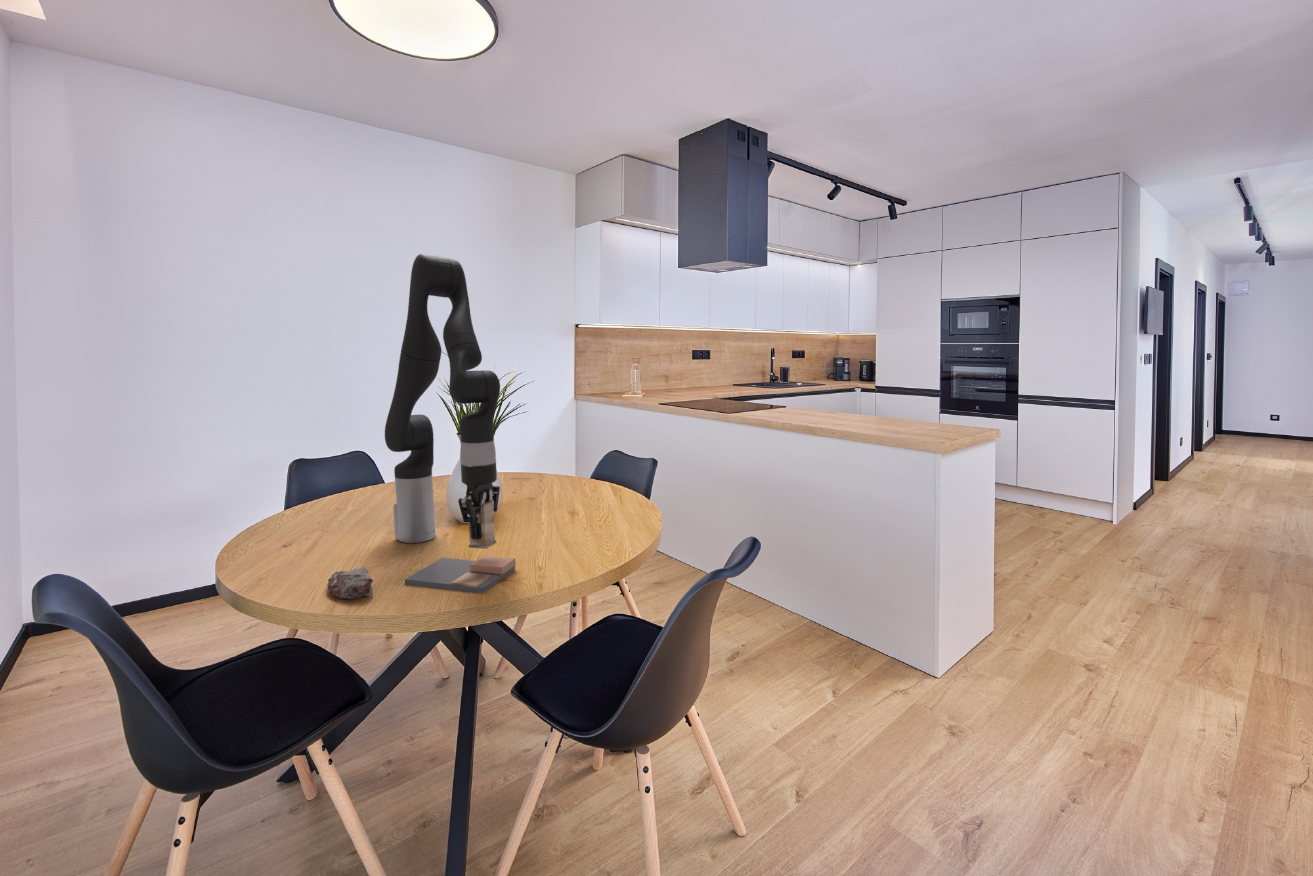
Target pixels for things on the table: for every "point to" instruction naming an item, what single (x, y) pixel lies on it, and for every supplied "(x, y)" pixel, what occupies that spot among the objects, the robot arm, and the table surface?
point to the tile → (492, 564)
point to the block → (485, 528)
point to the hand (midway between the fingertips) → (481, 535)
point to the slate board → (451, 576)
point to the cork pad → (471, 579)
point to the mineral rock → (351, 584)
